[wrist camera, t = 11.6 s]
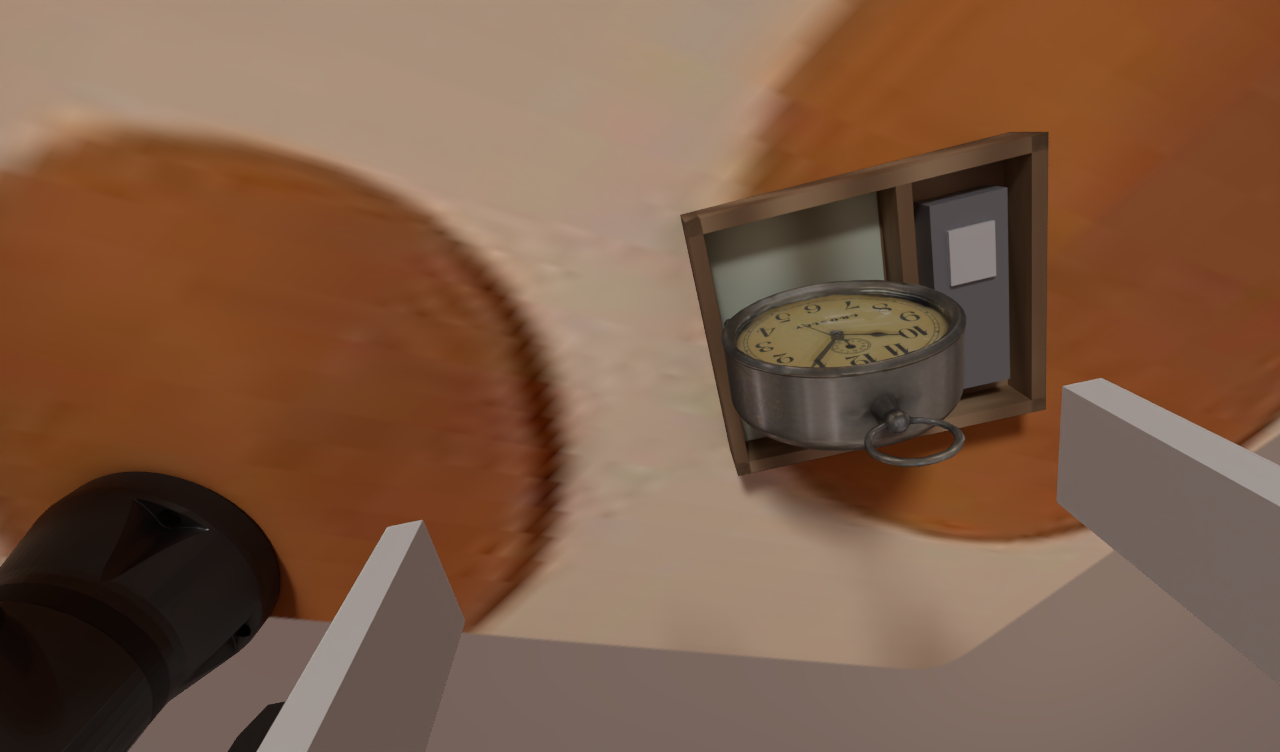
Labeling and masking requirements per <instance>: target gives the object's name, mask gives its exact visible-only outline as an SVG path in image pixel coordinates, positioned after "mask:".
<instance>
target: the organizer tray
mask: <svg viewBox="0 0 1280 752" xmlns="http://www.w3.org/2000/svg"><path fill="white" fill-rule="evenodd" d="M986 184H987V185H994V186H1001V187H1007V196H1008V268H1009V340H1010V379H1006V380H1001V381H997V382H992V383H988V384H983V385H979V386H974V387H970V388H965V389H963V393H962V396H961V398H960V401H959V402H958V404H957V406H956V407H955V408H954V410H953V411H952V412H951V413H950V414H949V415H948V416H947V417H946V418H945V419H944V420H943V421H946V422H949V423H950V424H952V425H954V426H956V427H958V428H962V427H966V426H971V425H976V424H980V423H985V422H990V421H994V420H999V419H1003V418H1008V417H1013V416H1017V415H1022V414H1026V413H1031V412H1036V411H1040V410H1045V409H1046V316H1047V218H1048V132H1009V133H1005V134H1001V135H997V136H993V137H989V138H985V139H981V140H977V141H973V142H969V143H965V144H961V145H957V146H953V147H949V148H945V149H941V150H937V151H933V152H929V153H925V154H921V155H917V156H913V157H909V158H905V159H901V160H897V161H893V162H889V163H885V164H881V165H877V166H873V167H869V168H865V169H861V170H857V171H853V172H849V173H845V174H842V175H838V176H834V177H830V178H826V179H822V180H818V181H814V182H810V183H806V184H802V185H798V186H794V187H790V188H786V189H782V190H778V191H774V192H770V193H766V194H762V195H758V196H754V197H750V198H746V199H742V200H738V201H734V202H730V203H726V204H722V205H718V206H714V207H710V208H706V209H702V210H698V211H694V212H690V213H686V214H682V215H680V216H681V220H682V225H683V230H684V235H685V239H686V244H687V249H688V253H689V258H690V263H691V268H692V272H693V277H694V282H695V286H696V291H697V296H698V300H699V305H700V310H701V315H702V319H703V324H704V329H705V333H706V338H707V343H708V348H709V352H710V357H711V362H712V366H713V371H714V376H715V380H716V385H717V390H718V395H719V399H720V404H721V409H722V413H723V418H724V423H725V428H726V432H727V437H728V442H729V446H730V451H731V454H732V457H733V460H734V463H735V467H736V470H737V473H738V476H740V475H745V474H749V473H754V472H759V471H763V470H768V469H773V468H777V467H782V466H786V465H791V464H796V463H800V462H805V461H809V460H814V459H819V458H823V457H828V456H833V455H837V454H842V453H846V452H851V451H823V450H813V449H807V448H801V447H797V446H793V445H789V444H786V443H782V442H779V441H776V440H774V439H772V438H769V437H767V436H765V435H763V434H761V433H760V432H758V431H756V430H755V429H753V428H752V427H751V426H749V425H748V424H747V423H746V422H745V421H744V420H743V419H742V418H741V417H740V415H739V414H738V413H737V411H736V410H735V408H734V406H733V403H732V399H731V393H730V387H729V380H728V374H727V367H726V361H725V354H724V348H723V345H722V341H721V336H722V332H723V329H724V327H725V326H724V323H725V321H726V320H727V319H731V318H732V317H733V316H734V315H735V314H736V313H738V312H739V311H740V310H742V309H744V308H745V307H747V306H749V305H751V304H752V303H755V302H756V301H758V300H761V299H763V298H766V297H768V296H771V295H774V294H776V293H780V292H783V291H786V290H790V289H794V288H799V287H804V286H808V285H813V284H819V283H826V282H835V281H850V280H885V281H895V282H904V283H910V284H915V285H919V281H918V267H917V253H916V239H915V225H914V211H913V202H917V201H921V200H925V199H929V198H933V197H937V196H941V195H945V194H949V193H953V192H957V191H961V190H966V189H970V188H974V187H978V186H982V185H986ZM943 431H948V430H947V429H944V428H942V427H939V426H935V427H933V428H932V429H930V430H928V431H926V432H924V433H922V434H920V435H918V436H916V437H920V436H925V435H930V434H934V433H939V432H943ZM916 437H914V438H916ZM855 451H856V450H855Z"/></svg>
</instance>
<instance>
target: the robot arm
mask: <svg viewBox="0 0 1280 752" xmlns="http://www.w3.org/2000/svg"><path fill="white" fill-rule="evenodd" d="M1057 503H1058V504H1060V505H1061V506H1062V507H1063V508H1064V509H1066V510H1067V511H1068V512H1069V513H1071V514H1072V515H1073V516H1074V517H1075V518H1077V519H1078V520H1079V521H1080V522H1081V523H1083V524H1084V525H1085V526H1086V527H1088V528H1089V529H1090V530H1091V531H1092V532H1094V533H1095V534H1096V535H1097V536H1098V537H1100V538H1101V539H1102V540H1103V541H1105V542H1106V543H1107V544H1108V545H1109V546H1111V547H1112V548H1113V549H1114V550H1115V551H1117V552H1118V553H1119V554H1120V555H1122V556H1123V557H1124V558H1125V559H1126V560H1128V561H1129V562H1130V563H1131V564H1132V565H1134V566H1135V567H1136V568H1137V569H1139V570H1140V571H1141V572H1142V573H1143V574H1145V575H1146V576H1147V577H1149V578H1150V579H1151V580H1152V581H1153V582H1155V583H1156V584H1157V585H1158V586H1159V587H1160V588H1162V589H1163V590H1164V591H1165V592H1167V593H1168V594H1169V595H1170V596H1172V597H1173V598H1174V599H1175V600H1176V601H1177V602H1179V603H1180V604H1181V605H1182V606H1184V607H1185V608H1186V609H1187V610H1189V611H1190V612H1191V613H1192V614H1193V615H1194V616H1196V617H1197V618H1198V619H1199V620H1201V621H1202V622H1203V623H1204V624H1205V625H1207V626H1208V627H1209V628H1210V629H1212V630H1213V631H1214V632H1215V633H1216V634H1218V635H1219V636H1220V637H1221V638H1222V639H1224V640H1225V641H1226V642H1227V643H1229V644H1230V645H1231V646H1232V647H1233V648H1235V649H1236V650H1237V651H1238V652H1239V653H1241V654H1242V655H1243V656H1244V657H1246V658H1247V659H1248V660H1249V661H1250V662H1252V663H1253V664H1254V665H1255V666H1256V667H1258V668H1259V669H1260V670H1261V671H1263V672H1264V673H1265V674H1266V675H1267V676H1269V677H1270V678H1271V679H1272V680H1273V681H1275V682H1276V683H1277V684H1279V685H1280V466H1279V465H1277V464H1275V463H1273V462H1271V461H1269V460H1267V459H1265V458H1263V457H1261V456H1259V455H1257V454H1255V453H1253V452H1251V451H1249V450H1247V449H1245V448H1243V447H1241V446H1239V445H1237V444H1235V443H1233V442H1230V441H1228V440H1226V439H1224V438H1222V437H1220V436H1218V435H1216V434H1214V433H1212V432H1210V431H1208V430H1206V429H1204V428H1202V427H1200V426H1198V425H1196V424H1194V423H1192V422H1190V421H1188V420H1186V419H1184V418H1182V417H1180V416H1178V415H1176V414H1174V413H1172V412H1170V411H1168V410H1166V409H1164V408H1161V407H1159V406H1157V405H1155V404H1153V403H1151V402H1149V401H1147V400H1145V399H1143V398H1141V397H1139V396H1137V395H1135V394H1133V393H1131V392H1129V391H1127V390H1125V389H1123V388H1121V387H1119V386H1117V385H1115V384H1113V383H1111V382H1109V381H1107V380H1105V379H1103V378H1100V379H1095V380H1090V381H1085V382H1080V383H1076V384H1071V385H1066V386H1063V388H1062V407H1061V427H1060V446H1059V465H1058V484H1057ZM279 589H280V575H279V569H278V565H277V561H276V559H275V556H274V553H273V551H272V549H271V547H270V545H269V543H268V542H267V540H266V539H265V537H264V536H263V534H262V533H261V531H260V530H259V529H258V528H257V526H256V525H255V524H254V523H253V522H252V521H251V520H250V519H249V518H248V517H247V516H246V515H245V514H244V513H243V512H242V511H240V510H239V509H238V508H237V507H236V506H234V505H233V504H231V503H230V502H229V501H227V500H226V499H224V498H223V497H221V496H219V495H218V494H216V493H214V492H212V491H210V490H208V489H206V488H204V487H202V486H200V485H198V484H195V483H192V482H190V481H187V480H184V479H181V478H177V477H173V476H169V475H164V474H159V473H151V472H123V473H115V474H110V475H106V476H103V477H100V478H97V479H94V480H92V481H90V482H88V483H86V484H84V485H82V486H81V487H79V488H78V489H76V490H75V491H73V492H71V493H70V494H68V495H67V496H65V497H64V498H62V499H61V500H59V501H58V502H56V503H55V504H53V505H52V506H51V507H50V508H48V509H47V510H46V511H45V512H44V513H43V514H42V515H41V516H40V517H39V518H38V519H37V520H36V522H35V523H34V524H33V526H32V527H31V528H30V529H29V531H28V532H27V533H26V535H25V536H24V537H23V538H22V540H21V541H20V542H19V544H18V545H17V546H16V547H15V549H14V550H13V551H12V553H11V554H10V555H9V557H8V558H7V559H6V560H5V562H4V563H3V564H2V566H1V567H0V752H128V750H129V749H130V748H131V747H132V745H133V744H134V743H135V742H136V740H137V739H138V738H139V737H140V735H141V734H142V733H143V732H144V730H145V729H146V728H147V726H148V725H149V724H150V723H151V722H152V720H153V719H154V718H155V717H156V715H157V714H158V713H159V712H160V711H161V709H162V708H163V707H164V706H165V705H166V704H167V703H168V702H169V701H170V700H171V699H173V698H174V697H176V696H177V695H178V694H180V693H181V692H183V691H184V690H185V689H187V688H188V687H190V686H191V685H192V684H194V683H195V682H197V681H198V680H200V679H201V678H202V677H204V676H205V675H207V674H208V673H209V672H211V671H212V670H214V669H215V668H217V667H218V666H219V665H221V664H222V663H224V662H225V661H226V660H228V659H229V658H231V657H232V656H233V655H235V654H236V653H238V652H239V651H240V650H241V649H242V648H244V647H245V646H246V645H247V644H248V643H249V642H250V641H251V639H252V638H253V637H254V635H255V634H256V633H257V632H258V630H259V629H260V628H261V626H262V625H263V624H264V622H265V621H266V620H267V618H268V617H269V616H270V614H271V613H272V611H273V609H274V607H275V605H276V602H277V599H278V595H279ZM464 623H465V619H464V617H463V614H462V612H461V610H460V607H459V605H458V602H457V600H456V598H455V595H454V593H453V591H452V588H451V586H450V583H449V581H448V579H447V576H446V574H445V571H444V569H443V567H442V564H441V562H440V559H439V557H438V555H437V552H436V550H435V548H434V545H433V543H432V540H431V538H430V536H429V533H428V531H427V528H426V526H425V524H424V521H423V520H419V521H414V522H409V523H405V524H400V525H395V526H390V527H387V528H386V530H385V532H384V533H383V535H382V537H381V539H380V540H379V542H378V544H377V546H376V547H375V549H374V551H373V552H372V554H371V556H370V558H369V559H368V561H367V563H366V564H365V566H364V568H363V570H362V571H361V573H360V575H359V576H358V578H357V580H356V582H355V583H354V585H353V587H352V589H351V590H350V592H349V594H348V595H347V597H346V599H345V601H344V602H343V604H342V606H341V607H340V609H339V611H338V613H337V614H336V616H335V618H334V619H333V621H332V623H331V625H330V626H329V628H328V630H327V632H326V633H325V635H324V637H323V638H322V640H321V642H320V644H319V645H318V647H317V649H316V650H315V652H314V654H313V656H312V658H311V659H310V661H309V663H308V664H307V666H306V668H305V669H304V671H303V673H302V675H301V676H300V678H299V680H298V681H297V683H296V685H295V687H294V688H293V690H292V692H291V693H290V695H289V697H288V699H287V700H286V702H281V703H276V704H270V705H268V706H267V707H266V708H265V709H264V710H263V711H262V712H261V713H260V714H259V715H258V716H257V717H256V718H255V719H254V720H253V721H252V722H251V723H250V724H249V725H248V726H247V727H246V728H245V729H244V730H243V732H241V734H240V735H239V736H238V737H237V738H236V740H235V741H234V743H233V745H232V746H231V748H230V749H229V751H228V752H425V750H426V747H427V743H428V740H429V737H430V734H431V731H432V727H433V724H434V721H435V718H436V714H437V711H438V708H439V704H440V701H441V698H442V694H443V692H444V688H445V685H446V682H447V679H448V675H449V672H450V669H451V665H452V662H453V659H454V656H455V652H456V649H457V646H458V643H459V639H460V636H461V633H462V630H463V626H464Z"/></svg>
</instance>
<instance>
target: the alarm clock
mask: <svg viewBox="0 0 1280 752" xmlns="http://www.w3.org/2000/svg"><path fill="white" fill-rule="evenodd" d="M724 326H725V327H724V329H723V332H722V336H721V341H722V345H723V348H724V354H725V361H726V367H727V374H728V380H729V387H730V393H731V399H732V403H733V406H734V408H735V410H736V411H737V413H738V414H739V415H740V417H741V418H742V419H743V420H744V421H745V422H746V423H747V424H748V425H749V426H751V427H752V428H753V429H755V430H756V431H758V432H760V433H761V434H763V435H765V436H767V437H769V438H772V439H774V440H776V441H779V442H782V443H786V444H789V445H793V446H797V447H801V448H807V449H813V450H823V451H855V450H866V451H867V452H868V453H869V454H870V455H871V456H872V457H873V458H875V459H877V460H879V461H881V462H884V463H886V464H890V465H895V466H900V467H919V466H925V465H930V464H935V463H939V462H941V461H944V460H946V459H949V458H951V457H953V456H954V455H955V454H956V453H958V452H959V451H960V450H961V448H962V447H963V444H964V442H965V436H964V434H963V432H962V431H961V430H960V429H959V428H958V427H956V426H954V425H952V424H950V423H949V422H946V421H943V420H944V419H945V418H946V417H947V416H948V415H949V414H950V413H951V412H952V411H953V410H954V408H955V407H956V406H957V404H958V402H959V401H960V398H961V396H962V393H963V389H964V371H965V331H966V315H965V312H964V310H963V309H962V307H961V306H960V305H959V304H958V303H957V302H956V301H955V300H954V299H952V298H951V297H949V296H947V295H946V294H944V293H942V292H939V291H936V290H933V289H930V288H928V287H924V286H920V285H915V284H910V283H904V282H895V281H885V280H850V281H835V282H826V283H819V284H813V285H808V286H804V287H799V288H794V289H790V290H786V291H783V292H780V293H776V294H774V295H771V296H768V297H766V298H763V299H761V300H758V301H756V302H755V303H752V304H751V305H749V306H747V307H745V308H744V309H742V310H740V311H739V312H738V313H736V314H735V315H734V316H733V317H732V318H731V319H727V320H726V321H725V323H724ZM935 426H939V427H942V428H944V429H947V430H949V431H950V432H951V433H952V434H953V435H954V436H955V441H954V443H953V444H952V445H951V447H949V448H948V449H946V450H944V451H942V452H940V453H937V454H934V455H930V456H927V457H921V458H899V457H894V456H890V455H887V454H884V453H881V452H879V451H877V450H876V449H875V448H879V447H883V446H888V445H892V444H896V443H900V442H903V441H906V440H909V439H911V438H914V437H916V436H918V435H920V434H922V433H924V432H926V431H928V430H930V429H932V428H933V427H935Z"/></svg>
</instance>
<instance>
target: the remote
mask: <svg viewBox="0 0 1280 752" xmlns="http://www.w3.org/2000/svg"><path fill="white" fill-rule="evenodd" d="M913 211H914V225H915V239H916V253H917V267H918V281H919V285H920V286H924V287H928V288H930V289H933V290H936V291H939V292H942V293H944V294H946V295H947V296H949V297H951V298H952V299H954V300H955V301H956V302H957V303H958V304H959V305H960V306H961V307H962V309H963V310H964V312H965V315H966V331H965V371H964V389H965V388H970V387H974V386H979V385H983V384H988V383H992V382H997V381H1001V380H1006V379H1010V340H1009V268H1008V196H1007V187H1001V186H994V185H987V184H986V185H982V186H978V187H974V188H970V189H966V190H961V191H957V192H953V193H949V194H945V195H941V196H937V197H933V198H929V199H925V200H921V201H917V202H913Z"/></svg>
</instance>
